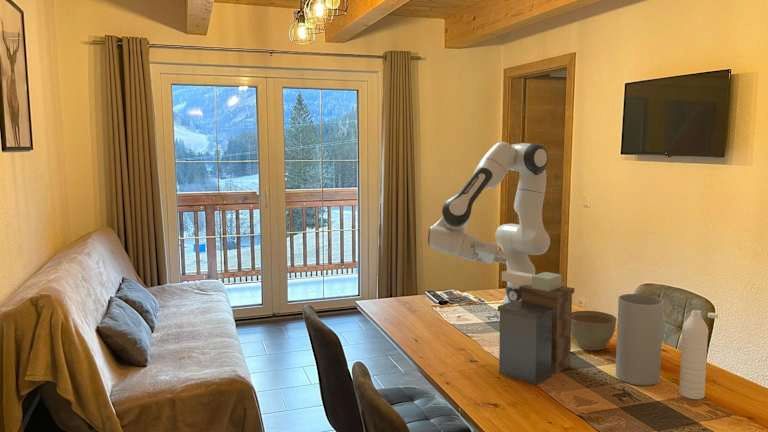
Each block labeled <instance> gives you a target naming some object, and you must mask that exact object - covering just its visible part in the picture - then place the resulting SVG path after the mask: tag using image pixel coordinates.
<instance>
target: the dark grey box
mask: <svg viewBox="0 0 768 432" xmlns="http://www.w3.org/2000/svg"><path fill="white" fill-rule="evenodd" d="M497 312H499V348H498V349H499V352H498V353H499V354H498V355H499V357H498V358H499V361H498V365H499V367H498V368H499V369H498V374H500V375H502V376H506V377H508V378H512V379H515V380H517V381H520V382H523V383H527V384H530V385H532V386H537V385H539V384H541V383H542V382H545V381H546V380H547V379H549V378H551V377H552V373H551V349H552V314H554V313H555V308H550V307H546V306H541V305H537V304H532V303H528V302H523V301H519V300H514V301H511V302H508V303H506V304H504V303H503V304H501V305H498V306H497Z"/></svg>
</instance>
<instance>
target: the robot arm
mask: <svg viewBox="0 0 768 432" xmlns="http://www.w3.org/2000/svg"><path fill="white" fill-rule="evenodd" d="M548 159H549V155H548V151H547V149H546V148H545V147H544V146H543V145H541V144H539V143H529V142H527V143H526V142H522V143H508V142H506V141H499V142H496V143H495V144H494V145H493V146H492V147H491V148H490V149H489V150H488V151H487V152H486V153H485V154H484V155H483V157H482V158H481V160H480V161H479V162H478V164H476V166H475V169H474V171H473V174H472V175H471V178H469V180H468V181H467V182H466V184H465V185H464V186H463V187H462V189H461V190H459V192H458V193H457V194H456V195H455V194H454V195H453V196H452V197H450V198H448V199H447V200H446V201H445V202H444V204H443V206H442V212H441V213H442V216H441V218H439V220H438V221H436V222H435V223H434V224H433V225H430V227H429V230H428V236H427V243H428V246H429V247H430V248H432V249H434V250H436V251H439V252H441V253H444V254H448V255H454V256H455V257H457V258H460V259H464V260H467V261H469V262H473V261H474V262H479V263H483V264H490V265H492V264H493V263H500V264H501V263H502V264H504V265H505V264H506V270H512V271H518V272H523V273H529V274H534V275H536V267H535V265H534V264H533V262H532V261H531V259H530V257H529V256H537V255H538V256H539V255H543V254H545V253H546V252H548V250H549V248H550V245H551V239H550V238H551V237H550V235H549V233H548V232H547V230H546V229H545V226H544V222H543V206H544V200H545V194H546V187H547V171H546V166H547V164H548ZM509 171H513V172H518V174H519V179H518V183H517V189H516V193H515V197H514V203H513V209H514V212H515V213H516V214H517V216H518V222H519V224H518V223H505V224H504V223H503V224H501V225H499V226H498V227H497V229H496V231H495V233H494V235H495V237H494V239H495V242H496V243H492V242H488V241H483V240H479V237H477V236H474V235H470V234H467V233H465V231H466V230H467V227H468V225H469V221H470V216H471V213H472V208H473V204H474V203H475V202H476V200H477V199H478V198H479V196H480V195H481V194H482V193H483V191H484V190H485V189H489V190H491V189H495V188H496V187H497V186H498V185H499V184H500V183H501V182H502V181H503V180H504V178H505V177H506V175H507V174H508V172H509ZM499 248H500V249H499ZM506 283H507V284H506V285H505V294H506V295H504V298H503V304H506V303H508V302H511V301H514V300H519V301H521V291H519V287H520V286H523V285H522V284H517V283H512V282H507V281H506Z"/></svg>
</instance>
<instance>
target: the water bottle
mask: <svg viewBox="0 0 768 432" xmlns="http://www.w3.org/2000/svg"><path fill="white" fill-rule="evenodd" d="M690 312H691V313H690V316H689V317H688V318H687V319H686V320H685V321H684V323H683V324H682V328H681V329H682V330H681V333H682V334H681V336H682V337H681V350H680V351H681V352H680V368H679V386H678V393H679V395H681V396H682V397H684V398H687V399H691V400H702V399H704V398H705V393H706V392H705V391H706V390H705V388H706V373H707V371H706V370H707V360H708V359H707V357H708V342H709V341H708V340H709V338H708V337H709V327H708V325H707V323H706V322H705V321H704V319H703V318H702V315H703V314H702V311H701V310H698V309H697V310H696V309H692V310H691V311H690ZM707 318H710V319H718V318H719V314H718V313H716V312H707Z"/></svg>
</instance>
